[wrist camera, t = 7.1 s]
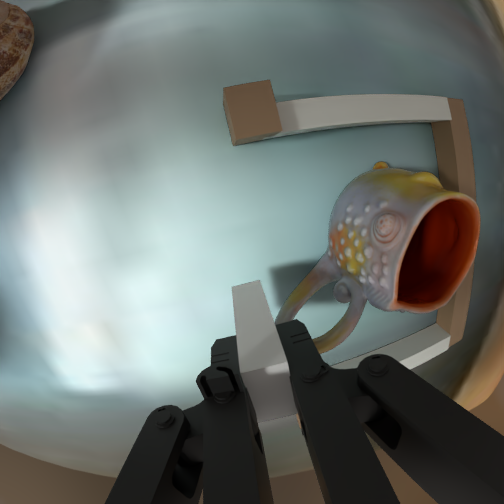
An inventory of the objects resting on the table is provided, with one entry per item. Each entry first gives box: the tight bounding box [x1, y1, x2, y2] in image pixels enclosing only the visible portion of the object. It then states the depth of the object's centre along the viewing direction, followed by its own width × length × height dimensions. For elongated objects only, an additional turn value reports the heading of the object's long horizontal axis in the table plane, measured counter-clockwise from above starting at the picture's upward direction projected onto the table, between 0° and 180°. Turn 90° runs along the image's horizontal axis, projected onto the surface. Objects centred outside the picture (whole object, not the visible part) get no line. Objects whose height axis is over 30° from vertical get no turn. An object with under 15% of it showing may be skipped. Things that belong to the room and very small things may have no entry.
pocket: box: [223, 80, 476, 429], centre depth 15 cm, size 16×21×3 cm
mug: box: [275, 162, 480, 354], centre depth 13 cm, size 12×7×7 cm, turn 126°
